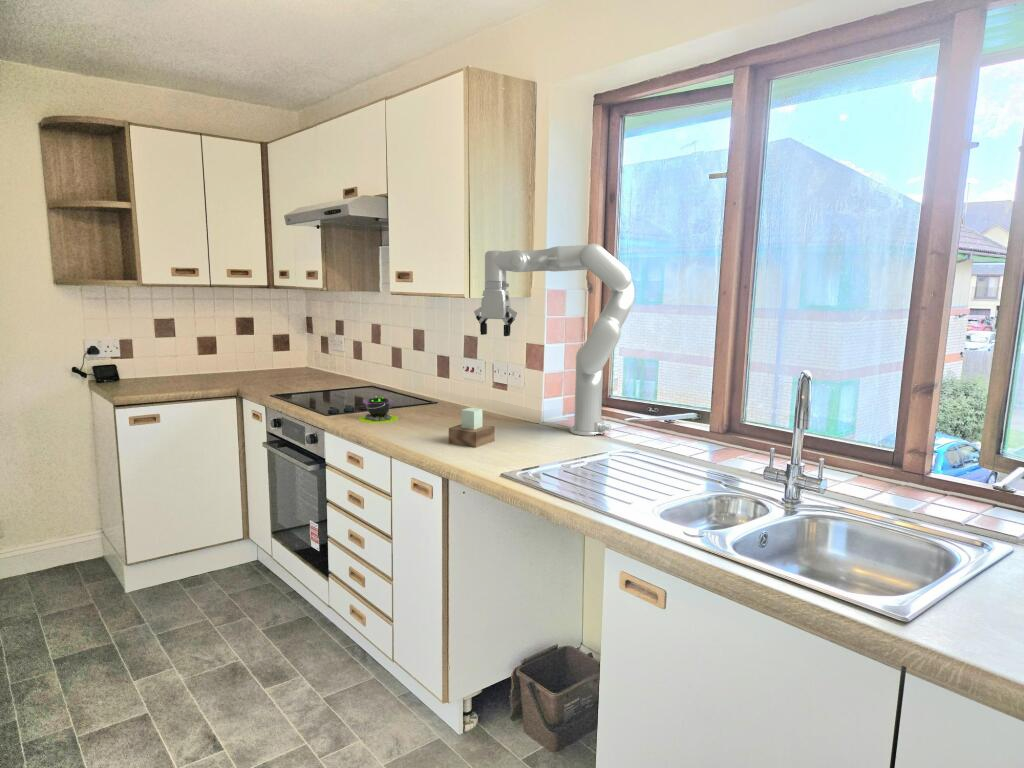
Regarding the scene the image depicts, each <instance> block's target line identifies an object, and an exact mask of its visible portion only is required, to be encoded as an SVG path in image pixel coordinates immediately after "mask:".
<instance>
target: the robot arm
mask: <svg viewBox="0 0 1024 768" xmlns="http://www.w3.org/2000/svg"><path fill="white" fill-rule="evenodd" d="M568 271H570V272H571V271H589V272H591V273H592V274H593V275H594V276H596V277H597V279H599V280H600V281H601V282H603V283H604V284H605V285H606V286H607V287H608V289H609V292H610V293H609V296H608V299H607V302H606V303H605V306H604V308H603V310H602V311H601V313H600V315H599V316H598V318H597V320H596V321H595V322H594V324H593V326H592V328H591V332H590V334H588V335H589V336H588V337H587V339H586V341H585V342H584V344H583V345H582V346H581V347H580V348H579V349H578V350H577V352H576V355H575V388H574V389H575V391H574V423H573V424H574V425H573V426H571V427H570V428H569V432H570V433H571V434H573V435H574V434H575V435H576V436H577V435H578V436H587V437H588V436H592V437H593V436H594V435H595V436H597V435H596V434H601V433H604V432H605V433H606V431H608V432H611V430H612V425H611V424H609V423H604V421H605V420H604V419H602V406H603V405H602V404H603V383H604V382H603V381H604V380H603V378H604V377H603V375H604V372H603V370H604V366H605V365H606V363H607V362H608V360H609V359H610V356H611V355H612V353H614V350H615V348H616V347H617V345H618V343H619V341H620V338H621V330H622V327H623V325H624V323H625V322H626V320H627V318H628V316H629V314H630V312H631V310H632V309H633V305H634V302H635V297H636V292H635V291H636V290H635V285H634V283H633V280H632V279H633V278H632V273H631V271H630V270H629V269H628V268H627V267H626V266H625V265H624V264H622V263H621V262H620V261H619V260H618V259H617V258H615V257H614V256H613V255H612V254H611V253H609V251H607V250H606V249H605V248H604V247H603V246H602V245H600V244H598V243H589V244H581V245H580V244H578V245H560V246H552V247H549V248H544V249H534V250H533V249H532V250H519V249H514V250H506V251H503V250H488V251H486V252H485V254H484V290H483V292H482V295H481V302H480V303H481V304H480V305H481V306H480V307H478V308H477V309H475V310H474V312H473V313H474V316H475V318H476V320H477V322H478V323H479V326H480V327H479V332H480V335H481V336H484V335H486V336H487V335H488V323H487V321H488V320H502V322H503V323H504V324H503V337H510V336H511V325H513V322H514V321H515V320H516V317H517V315H518V311H516V310H514V309H512V308H511V298H510V293H509V290H507V288H509V286H510V284H509V283H507V272H512V273H513V272H514V273H530V272H531V273H532V272H568ZM482 296H484V297H483V298H482ZM605 433H604V434H605ZM601 435H602V434H601Z"/></svg>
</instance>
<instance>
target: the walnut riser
mask: <svg viewBox="0 0 1024 768" xmlns="http://www.w3.org/2000/svg"><path fill="white" fill-rule="evenodd" d="M495 428H496V427H495V425H491V424H490V425H489V424H483V423H482V427H480V428H477V429H467V428H462V423H461V424H458V425H454V426H452V427H448V443H449V444H453V445H460V446H466V447H470V448H479V447H481V446H483V445H487V444H489V443H492V442H495V437H496V435H495V433H496V431H495Z"/></svg>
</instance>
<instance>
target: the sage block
mask: <svg viewBox="0 0 1024 768" xmlns="http://www.w3.org/2000/svg"><path fill="white" fill-rule="evenodd" d="M461 424H462V428H467V429H477V428H480V427H482V424H483V408H477V407H467V408H464V409H461Z"/></svg>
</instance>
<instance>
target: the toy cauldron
mask: <svg viewBox="0 0 1024 768" xmlns="http://www.w3.org/2000/svg"><path fill="white" fill-rule="evenodd" d="M380 392H384V390H381V391H380ZM380 392H378V394H381V393H380ZM382 394H385V393H382ZM367 396H368V397H370V398H368V399H366V400H363V403H365V407H366V411H367V412H368V413H367V414H365V415H364V416H361V417H359V418H358V420H359V422H362V423H367V424H368V423H369V424H385V423H392V422H396V421H398V420H399V417H398V416H397V415H392V414H388V413H389V412H390V409H391V406H390V405H391V404H390V403H393V402H394V400H392V399H390V398H384V397H386V396H389V394H386V396H381V397H378V396H377V395H375V397H372V398H371V396H370V394H368V395H367Z"/></svg>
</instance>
